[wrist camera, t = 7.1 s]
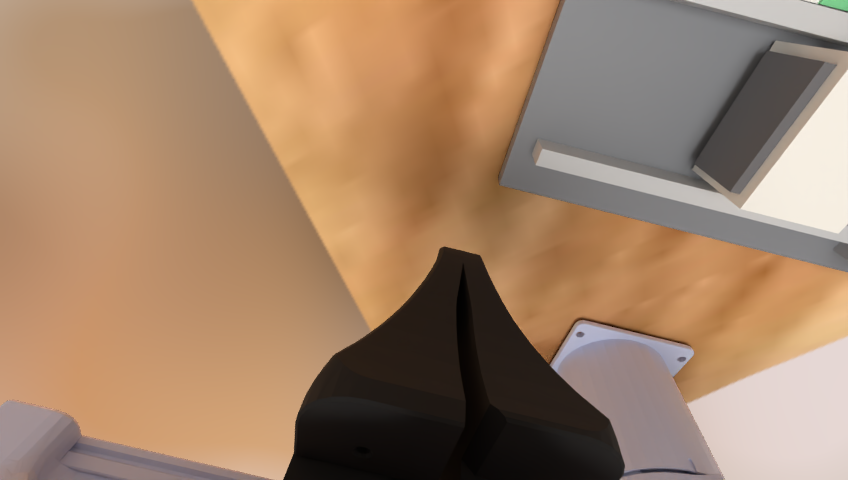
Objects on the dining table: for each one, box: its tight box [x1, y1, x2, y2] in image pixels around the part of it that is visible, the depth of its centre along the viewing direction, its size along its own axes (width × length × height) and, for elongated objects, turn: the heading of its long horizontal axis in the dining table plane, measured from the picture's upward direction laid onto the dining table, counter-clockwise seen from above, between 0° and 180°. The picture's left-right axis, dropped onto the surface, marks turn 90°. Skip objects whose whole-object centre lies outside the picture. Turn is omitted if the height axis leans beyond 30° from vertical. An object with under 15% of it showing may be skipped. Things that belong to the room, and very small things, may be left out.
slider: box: [692, 41, 848, 234], centre depth 14 cm, size 9×4×4 cm, turn 168°
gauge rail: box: [498, 0, 848, 272], centre depth 15 cm, size 12×20×7 cm, turn 78°
